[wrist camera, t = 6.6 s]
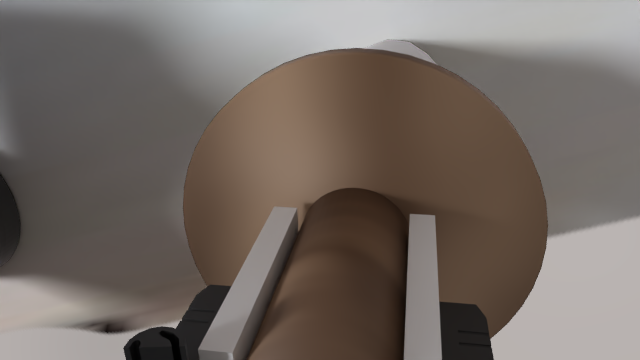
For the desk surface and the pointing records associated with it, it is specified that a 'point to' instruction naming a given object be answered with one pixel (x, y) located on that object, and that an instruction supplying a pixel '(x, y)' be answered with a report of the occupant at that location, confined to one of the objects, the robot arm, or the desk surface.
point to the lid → (365, 199)
